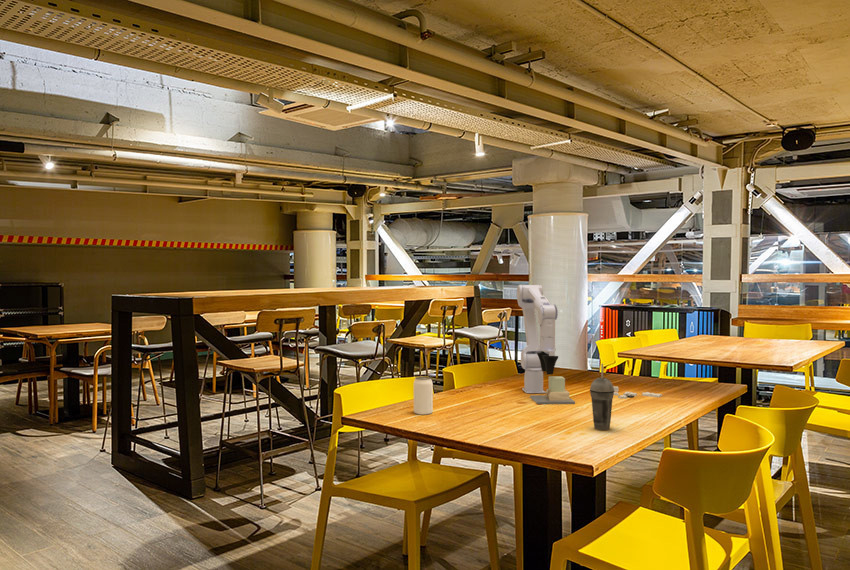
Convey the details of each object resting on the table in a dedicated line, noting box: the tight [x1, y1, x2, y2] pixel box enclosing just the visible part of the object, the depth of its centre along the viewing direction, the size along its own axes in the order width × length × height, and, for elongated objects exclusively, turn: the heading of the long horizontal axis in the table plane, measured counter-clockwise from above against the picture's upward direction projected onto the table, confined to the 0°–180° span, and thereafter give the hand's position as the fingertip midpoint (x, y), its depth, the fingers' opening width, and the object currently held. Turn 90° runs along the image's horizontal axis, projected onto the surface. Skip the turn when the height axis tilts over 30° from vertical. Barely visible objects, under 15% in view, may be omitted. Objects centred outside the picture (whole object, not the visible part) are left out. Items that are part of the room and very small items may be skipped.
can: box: [413, 376, 434, 416], centre depth 214 cm, size 6×6×12 cm
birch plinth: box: [545, 388, 570, 401], centre depth 236 cm, size 7×7×3 cm
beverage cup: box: [589, 363, 615, 431], centre depth 192 cm, size 7×7×20 cm
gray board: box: [529, 394, 576, 405], centre depth 236 cm, size 13×14×1 cm
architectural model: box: [613, 385, 663, 400], centre depth 245 cm, size 20×24×2 cm
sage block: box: [548, 375, 566, 392], centre depth 236 cm, size 5×5×5 cm
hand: (547, 372), depth 237 cm, fingers open, 7 cm apart
